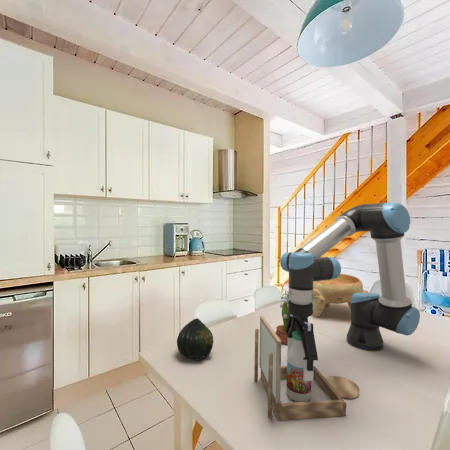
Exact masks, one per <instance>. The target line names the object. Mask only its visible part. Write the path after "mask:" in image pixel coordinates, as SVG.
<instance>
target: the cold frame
mask: <svg viewBox="0 0 450 450" xmlns="http://www.w3.org/2000/svg"><path fill="white" fill-rule="evenodd" d="M325 378H326V377H325V376H324V375H323V374H322V373H321V372H320V371H319V369H318V368H317V367H316V366H315V365H314V370H313V380H314V381H315V382H316V384H317V385H319V387H320V388H321V389H322V391H323V392H324V394H325V395H326V396H327V398H329V399H328V400H313V401H307V402H297V401H296V402H285V403H282V400H280V405H277V404H276V401H275V399H274V396H273V394H272V410H273V411H274V414H275V416H276V419H277V420H278V421H289V420H302V419H303V420H304V419H320V418H329V417H330V418H331V417H344V416H345V417H346V416H347V402H345V399H342V398H341V397H340V395H339V394H338V393H337V392H336V391H335V389H334V388H333V387H332V386H331V385H330V384H329V382H328V381H327V380H326V379H325ZM260 380H261V383H262V385H263V387H264V388H263V389H264V390H265V392H266V395H267V396H268V383H267V381H266V379H265V377H264V374H263V372H262V370H261V369H260ZM281 380H287V365H281Z"/></svg>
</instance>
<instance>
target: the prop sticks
mask: <svg viewBox="0 0 450 450" xmlns="http://www.w3.org/2000/svg"><path fill="white" fill-rule="evenodd" d="M259 335H260V328H259V329H258V328H255V329H254V367H253V368H254V370H253V371H254V373H253V374H254V377H253V380H254V381H253V382H254V383H258V380H259V379H258V378H259ZM272 385H273V353H269V366H268V395H267V418H268V419H273V407H272Z"/></svg>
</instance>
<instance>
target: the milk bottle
mask: <svg viewBox="0 0 450 450" xmlns="http://www.w3.org/2000/svg"><path fill="white" fill-rule="evenodd" d="M292 337H293V338H292V339H293V344H292V346H291V348H290V350H289V353H288V357H287V360H286V366H287V379H286V394H287V396H288V397H289V399H291V400H293V401H294V402H296V403H297V402H310V400H311V399H312V395H313V394H312V393H313V392H312V391H313V390H312V389H313V387H312V386H313V381H304V380H303V375H304V359H303V358H304V357H305V354H304V349H303V345H302V341H301V337H300V336H299V335H298V331H294V332H293V334H292Z"/></svg>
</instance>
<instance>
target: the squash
mask: <svg viewBox="0 0 450 450" xmlns="http://www.w3.org/2000/svg"><path fill="white" fill-rule="evenodd" d="M213 345H214V335H213V333H212V331H211V330H210V329H209V327H207V326H206V324H205V323H203V322H202V320H200V318H198V317H196V318H194V319H192V320H190V321H189V322H188V323H187V324H185V325H184V326H183V327H182V328H181V330H180V331H179V332H178V336H177V338H176V346H177V350H178V352H179V353H180V355H182V356H183V357H184V358H194V359H196V360H197V361H200V360H202V359H203V358H206V357H208V356H209V355H210V354H211V351H212V350H213Z"/></svg>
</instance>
